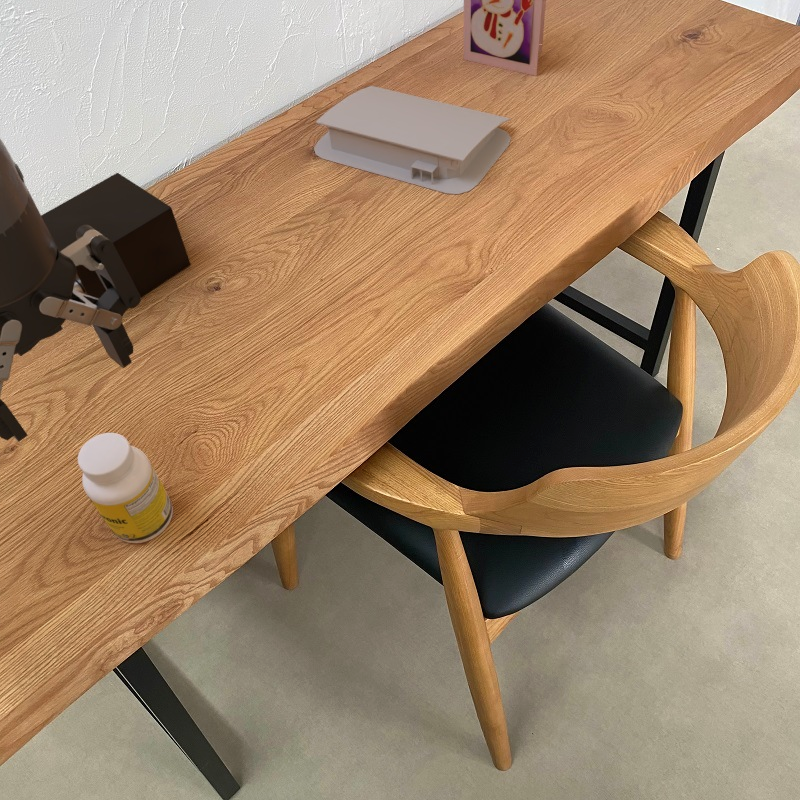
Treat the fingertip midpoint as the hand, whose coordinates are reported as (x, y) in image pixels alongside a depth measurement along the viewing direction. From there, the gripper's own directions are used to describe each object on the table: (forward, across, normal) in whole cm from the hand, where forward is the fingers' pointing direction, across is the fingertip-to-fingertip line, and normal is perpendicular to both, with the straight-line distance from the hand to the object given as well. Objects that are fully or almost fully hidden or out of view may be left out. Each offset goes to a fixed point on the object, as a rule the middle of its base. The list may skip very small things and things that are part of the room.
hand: (70, 395), depth 56 cm
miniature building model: (+17, -56, -20) cm, 62 cm away
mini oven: (+17, -17, -28) cm, 37 cm away
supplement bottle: (+17, 0, 0) cm, 17 cm away
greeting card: (+17, -81, -23) cm, 86 cm away
